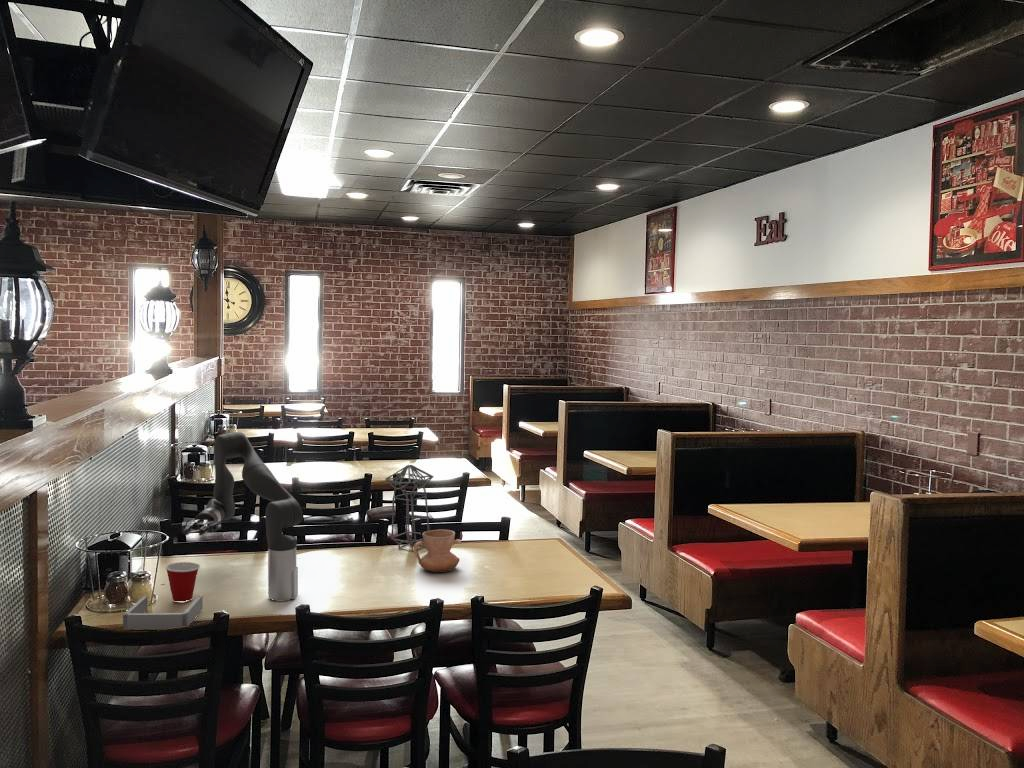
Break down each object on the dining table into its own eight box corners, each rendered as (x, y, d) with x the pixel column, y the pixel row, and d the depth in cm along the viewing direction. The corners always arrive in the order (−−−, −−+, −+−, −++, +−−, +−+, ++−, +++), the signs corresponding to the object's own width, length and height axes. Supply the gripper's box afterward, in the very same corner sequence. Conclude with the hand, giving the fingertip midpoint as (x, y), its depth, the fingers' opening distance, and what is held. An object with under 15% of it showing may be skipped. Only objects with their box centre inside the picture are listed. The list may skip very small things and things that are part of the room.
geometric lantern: (413, 555, 320) (411, 469, 317) (384, 549, 328) (382, 466, 326) (437, 546, 333) (436, 463, 330) (408, 540, 342) (407, 460, 339)
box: (202, 610, 256) (202, 595, 256) (186, 630, 240) (186, 614, 240) (143, 611, 254) (143, 596, 254) (123, 631, 238) (122, 615, 238)
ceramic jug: (460, 563, 311) (459, 527, 310) (462, 574, 297) (462, 536, 296) (413, 565, 309) (413, 528, 308) (414, 576, 295) (413, 538, 294)
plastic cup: (206, 600, 265) (205, 565, 264) (173, 608, 257) (172, 572, 256) (192, 592, 273) (192, 558, 272) (160, 599, 265) (159, 564, 264)
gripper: (187, 509, 291) (171, 521, 274) (227, 509, 292) (214, 521, 275) (188, 530, 291) (172, 543, 274) (227, 529, 292) (214, 543, 275)
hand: (193, 532), depth 275 cm, fingers open, 4 cm apart
